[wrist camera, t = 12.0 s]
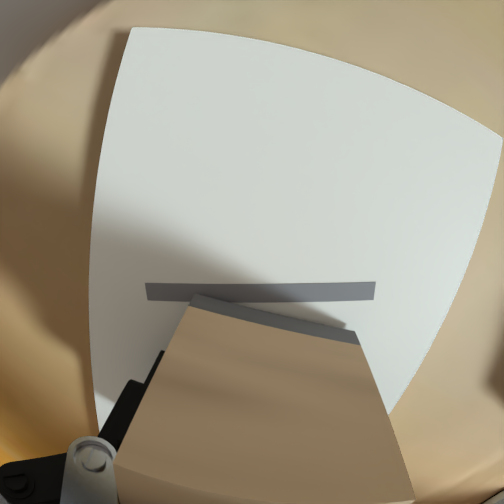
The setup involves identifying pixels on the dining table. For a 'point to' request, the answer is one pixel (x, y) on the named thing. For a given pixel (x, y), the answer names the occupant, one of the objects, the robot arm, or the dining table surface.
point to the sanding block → (260, 417)
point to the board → (277, 201)
